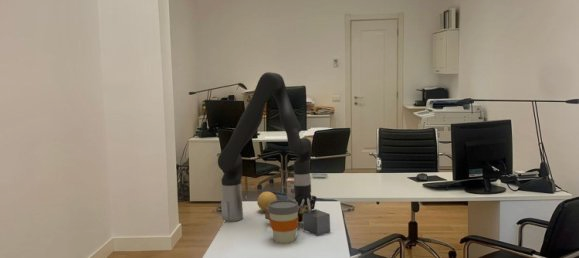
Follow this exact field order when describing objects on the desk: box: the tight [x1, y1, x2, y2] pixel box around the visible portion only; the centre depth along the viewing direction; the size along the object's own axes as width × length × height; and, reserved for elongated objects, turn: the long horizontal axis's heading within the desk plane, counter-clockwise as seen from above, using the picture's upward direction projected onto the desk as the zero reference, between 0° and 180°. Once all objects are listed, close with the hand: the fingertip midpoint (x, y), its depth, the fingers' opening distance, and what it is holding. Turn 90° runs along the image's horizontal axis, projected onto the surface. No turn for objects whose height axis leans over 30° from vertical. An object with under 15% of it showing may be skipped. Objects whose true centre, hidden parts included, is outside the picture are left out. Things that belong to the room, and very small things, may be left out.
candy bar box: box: [285, 178, 295, 200], centre depth 230 cm, size 11×5×16 cm, turn 84°
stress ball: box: [256, 191, 278, 212], centre depth 233 cm, size 10×10×10 cm
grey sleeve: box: [303, 208, 331, 237], centre depth 201 cm, size 7×10×8 cm
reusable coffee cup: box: [268, 199, 299, 244], centre depth 193 cm, size 13×13×15 cm
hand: (303, 220), depth 209 cm, fingers closed on brass bar, 4 cm apart
